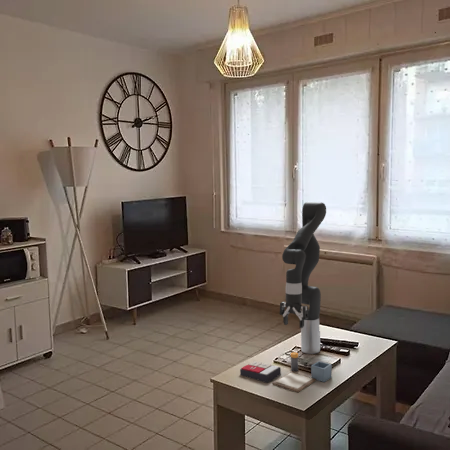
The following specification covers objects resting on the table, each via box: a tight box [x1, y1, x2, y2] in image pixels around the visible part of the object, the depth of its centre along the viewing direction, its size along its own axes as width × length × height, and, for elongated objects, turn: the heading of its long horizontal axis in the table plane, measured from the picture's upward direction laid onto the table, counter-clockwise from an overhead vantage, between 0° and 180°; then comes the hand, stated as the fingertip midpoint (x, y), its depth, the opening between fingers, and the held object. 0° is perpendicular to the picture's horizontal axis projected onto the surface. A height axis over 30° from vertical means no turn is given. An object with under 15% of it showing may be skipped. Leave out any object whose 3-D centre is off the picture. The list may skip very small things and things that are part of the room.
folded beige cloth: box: [272, 371, 317, 393], centre depth 216 cm, size 14×13×1 cm
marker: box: [290, 351, 299, 373], centre depth 228 cm, size 3×3×8 cm
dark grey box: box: [239, 360, 282, 384], centre depth 226 cm, size 11×4×15 cm
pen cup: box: [310, 360, 332, 383], centre depth 219 cm, size 6×6×6 cm
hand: (293, 326), depth 233 cm, fingers open, 8 cm apart
